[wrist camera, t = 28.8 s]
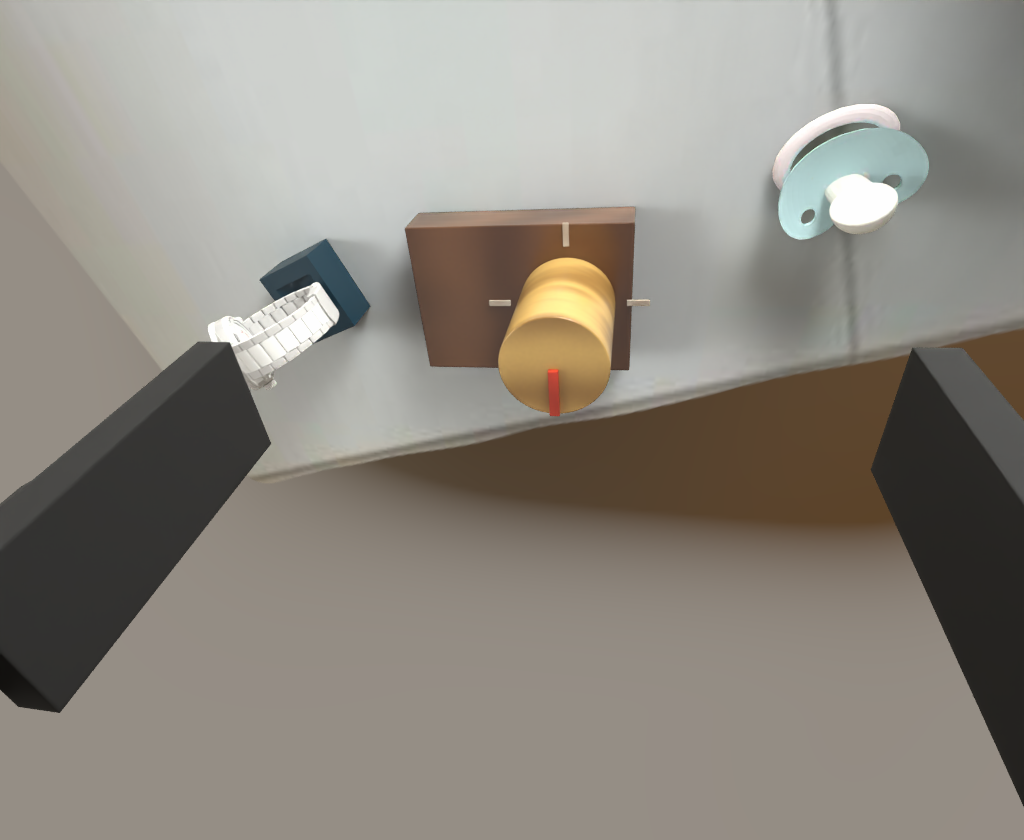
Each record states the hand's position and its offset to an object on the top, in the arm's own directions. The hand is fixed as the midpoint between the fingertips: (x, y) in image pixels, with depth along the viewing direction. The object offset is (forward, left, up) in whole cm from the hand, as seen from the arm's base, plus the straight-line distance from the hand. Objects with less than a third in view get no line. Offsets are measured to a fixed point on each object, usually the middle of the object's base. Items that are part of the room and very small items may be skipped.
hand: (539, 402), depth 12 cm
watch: (+20, +10, -29) cm, 36 cm away
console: (+5, +10, -29) cm, 31 cm away
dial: (+2, +10, -25) cm, 27 cm away
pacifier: (-13, +3, -29) cm, 32 cm away
